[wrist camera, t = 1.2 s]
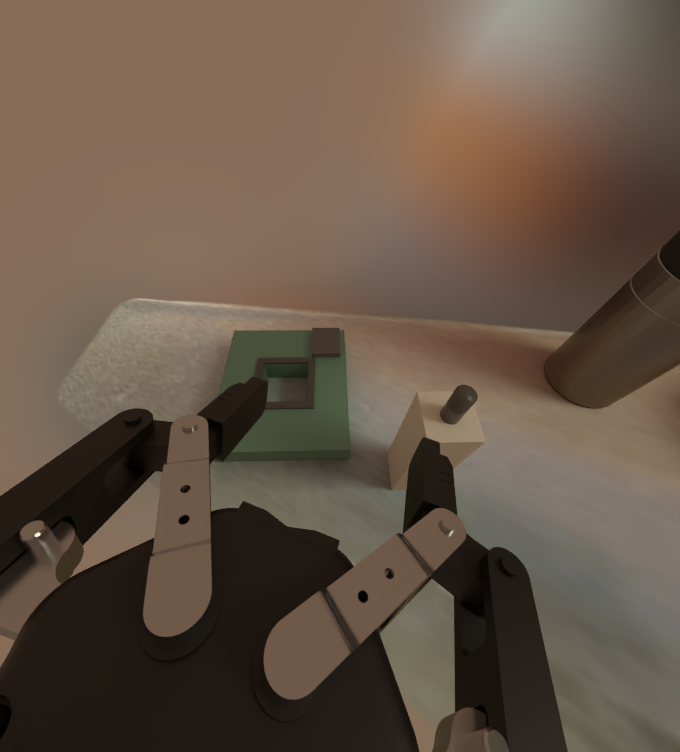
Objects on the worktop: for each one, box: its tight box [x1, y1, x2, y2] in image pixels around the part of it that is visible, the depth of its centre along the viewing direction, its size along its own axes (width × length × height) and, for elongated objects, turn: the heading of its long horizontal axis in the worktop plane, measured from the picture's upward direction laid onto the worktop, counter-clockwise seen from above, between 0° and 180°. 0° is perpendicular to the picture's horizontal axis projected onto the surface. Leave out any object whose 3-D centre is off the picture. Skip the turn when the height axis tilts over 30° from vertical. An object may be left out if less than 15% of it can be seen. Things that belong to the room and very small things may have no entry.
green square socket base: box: [214, 328, 350, 462], centre depth 36 cm, size 15×17×4 cm
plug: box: [387, 385, 486, 490], centre depth 25 cm, size 4×4×17 cm
